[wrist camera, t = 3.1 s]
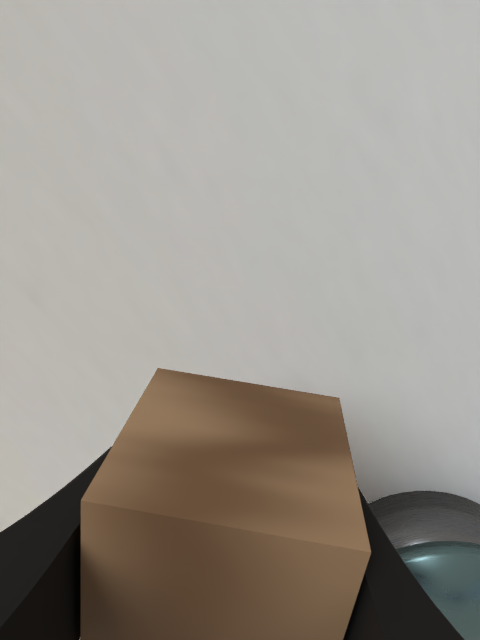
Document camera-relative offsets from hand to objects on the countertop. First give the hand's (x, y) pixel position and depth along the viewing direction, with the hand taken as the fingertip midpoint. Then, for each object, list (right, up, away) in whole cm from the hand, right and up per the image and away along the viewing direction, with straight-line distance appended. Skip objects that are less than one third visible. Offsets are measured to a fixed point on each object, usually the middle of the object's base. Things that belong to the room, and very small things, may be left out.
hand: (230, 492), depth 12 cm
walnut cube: (0, +1, +1) cm, 1 cm away
